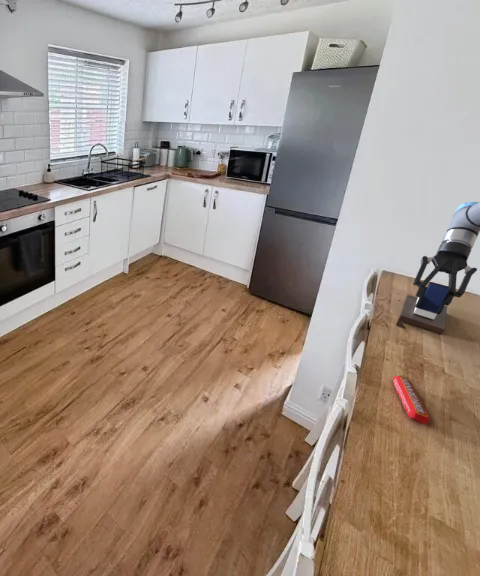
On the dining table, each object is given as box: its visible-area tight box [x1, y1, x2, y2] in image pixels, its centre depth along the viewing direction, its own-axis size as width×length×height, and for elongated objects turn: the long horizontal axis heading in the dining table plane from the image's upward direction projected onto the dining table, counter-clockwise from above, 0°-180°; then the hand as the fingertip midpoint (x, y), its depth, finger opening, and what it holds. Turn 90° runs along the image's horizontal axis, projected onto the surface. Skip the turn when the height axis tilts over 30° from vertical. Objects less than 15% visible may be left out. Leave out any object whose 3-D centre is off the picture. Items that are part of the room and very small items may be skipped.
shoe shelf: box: [395, 294, 448, 336], centre depth 122 cm, size 20×11×4 cm, turn 138°
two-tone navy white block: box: [414, 281, 449, 319], centre depth 119 cm, size 12×5×10 cm, turn 138°
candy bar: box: [392, 375, 430, 427], centre depth 88 cm, size 16×4×3 cm, turn 158°
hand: (428, 309), depth 115 cm, fingers closed on two-tone navy white block, 5 cm apart
